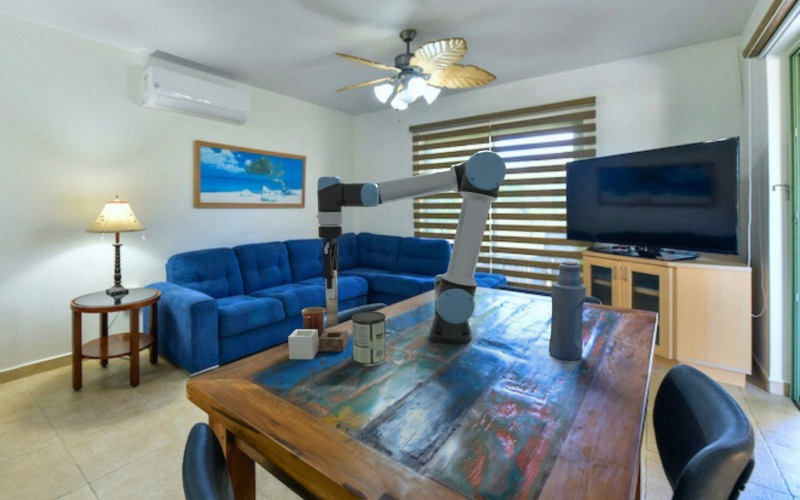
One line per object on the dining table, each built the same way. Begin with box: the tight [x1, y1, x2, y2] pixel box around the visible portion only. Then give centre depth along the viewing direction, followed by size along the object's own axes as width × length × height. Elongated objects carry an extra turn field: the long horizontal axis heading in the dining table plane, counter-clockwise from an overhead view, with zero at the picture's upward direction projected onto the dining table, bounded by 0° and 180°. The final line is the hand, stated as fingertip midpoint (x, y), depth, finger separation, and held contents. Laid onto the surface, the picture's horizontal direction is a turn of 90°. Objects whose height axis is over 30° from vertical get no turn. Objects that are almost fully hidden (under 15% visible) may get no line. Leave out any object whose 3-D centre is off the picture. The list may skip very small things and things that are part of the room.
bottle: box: [548, 260, 587, 361], centre depth 118 cm, size 10×10×30 cm
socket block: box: [318, 330, 349, 352], centre depth 126 cm, size 8×8×5 cm
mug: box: [301, 306, 327, 338], centre depth 136 cm, size 12×9×10 cm
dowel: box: [325, 270, 339, 327], centre depth 124 cm, size 4×4×18 cm
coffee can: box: [351, 311, 387, 367], centre depth 117 cm, size 10×10×14 cm
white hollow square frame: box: [287, 328, 319, 360], centre depth 119 cm, size 7×7×8 cm
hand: (331, 296), depth 124 cm, fingers closed on dowel, 3 cm apart
